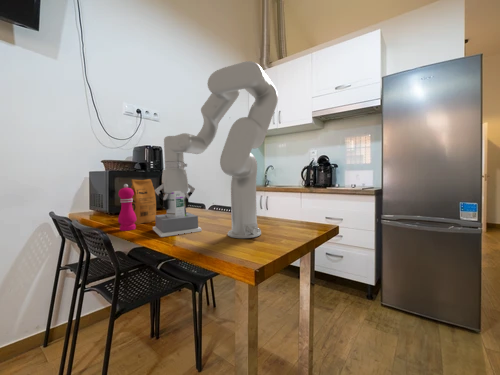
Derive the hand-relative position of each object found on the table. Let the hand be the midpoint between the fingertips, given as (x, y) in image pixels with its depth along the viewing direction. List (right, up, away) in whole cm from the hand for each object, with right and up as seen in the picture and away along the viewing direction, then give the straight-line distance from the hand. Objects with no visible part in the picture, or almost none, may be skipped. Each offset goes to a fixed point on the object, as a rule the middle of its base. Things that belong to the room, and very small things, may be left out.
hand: (176, 208), depth 99 cm
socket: (0, -9, +1) cm, 9 cm away
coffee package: (-24, -9, +22) cm, 34 cm away
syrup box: (0, -7, 0) cm, 7 cm away
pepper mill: (-23, -10, +5) cm, 25 cm away
